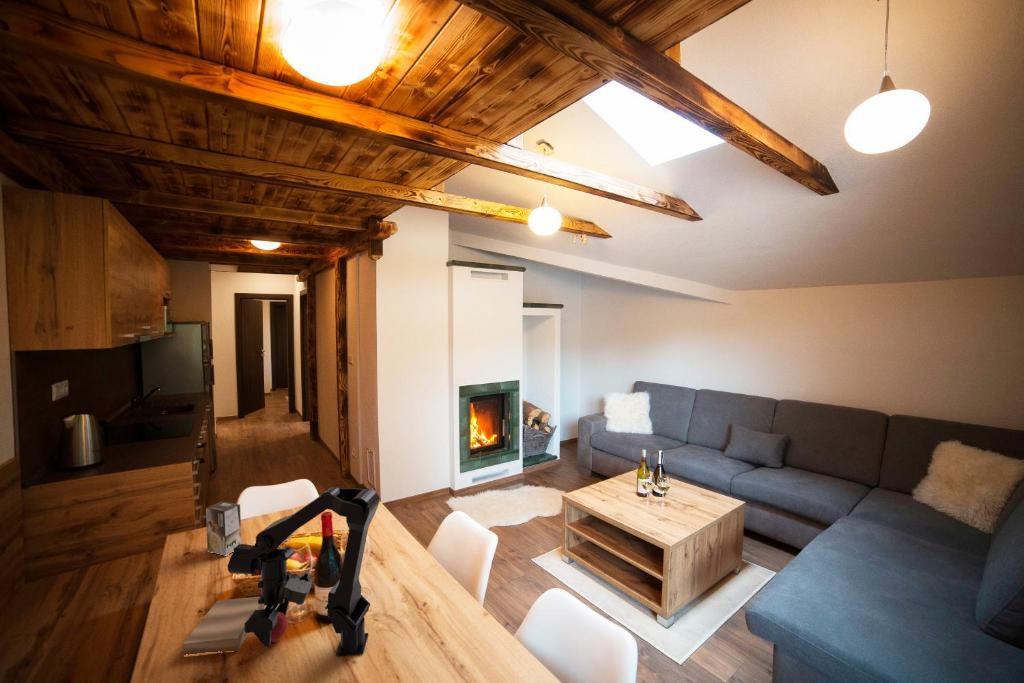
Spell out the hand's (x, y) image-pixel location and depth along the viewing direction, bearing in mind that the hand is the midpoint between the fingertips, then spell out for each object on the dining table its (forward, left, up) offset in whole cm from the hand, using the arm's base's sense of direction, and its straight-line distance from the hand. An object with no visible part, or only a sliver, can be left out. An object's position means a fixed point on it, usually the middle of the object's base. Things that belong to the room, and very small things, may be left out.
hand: (275, 633), depth 108 cm
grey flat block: (+5, +14, -2) cm, 15 cm away
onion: (0, 0, -2) cm, 2 cm away
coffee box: (+47, +36, -2) cm, 59 cm away
